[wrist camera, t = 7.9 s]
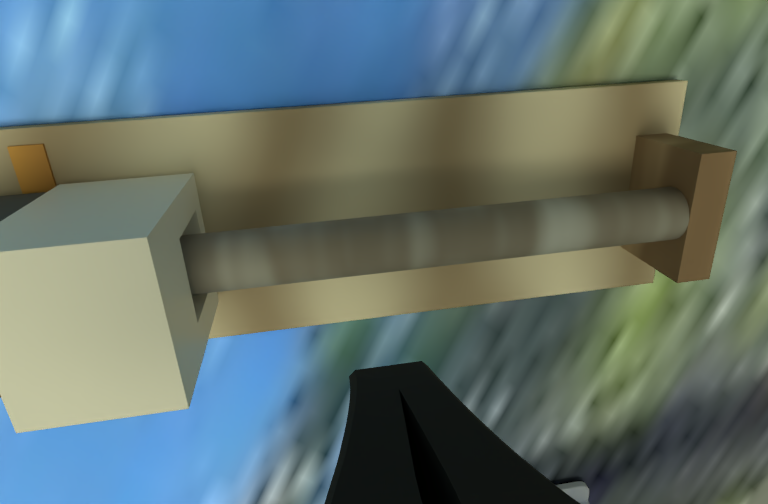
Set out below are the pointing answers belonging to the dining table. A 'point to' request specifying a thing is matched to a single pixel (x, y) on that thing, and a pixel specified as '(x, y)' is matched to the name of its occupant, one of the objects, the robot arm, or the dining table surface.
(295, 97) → the dining table surface
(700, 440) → the dining table surface
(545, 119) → the pipe stand
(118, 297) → the pale sage cube
